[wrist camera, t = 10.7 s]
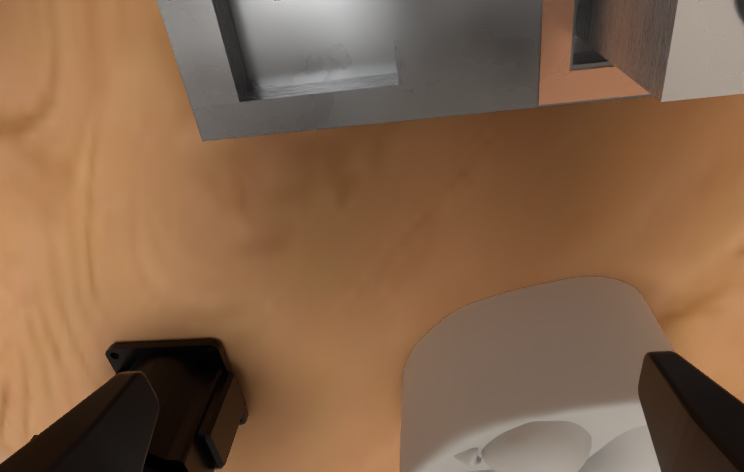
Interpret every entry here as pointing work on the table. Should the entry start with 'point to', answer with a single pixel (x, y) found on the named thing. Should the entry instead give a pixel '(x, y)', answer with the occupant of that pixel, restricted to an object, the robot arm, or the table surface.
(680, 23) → the block
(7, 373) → the table surface
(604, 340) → the lumpy-topped squat cylinder
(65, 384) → the table surface
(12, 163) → the table surface
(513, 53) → the grey flat block
